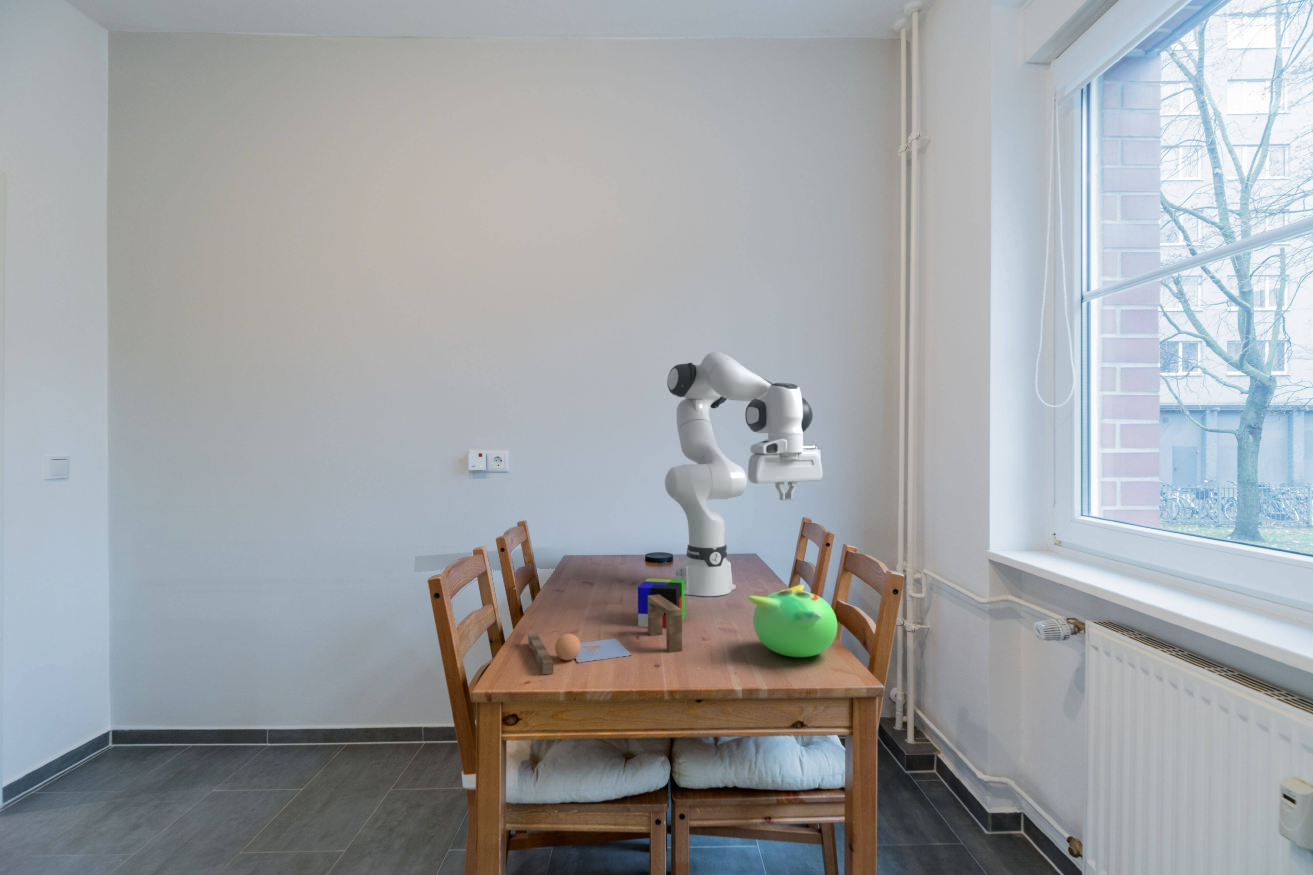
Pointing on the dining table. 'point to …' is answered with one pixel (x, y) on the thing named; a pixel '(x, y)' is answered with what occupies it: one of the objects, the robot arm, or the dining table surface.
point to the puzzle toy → (666, 589)
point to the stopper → (540, 653)
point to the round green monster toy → (794, 622)
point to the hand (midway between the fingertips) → (786, 499)
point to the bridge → (672, 621)
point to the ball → (567, 646)
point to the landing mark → (602, 650)
